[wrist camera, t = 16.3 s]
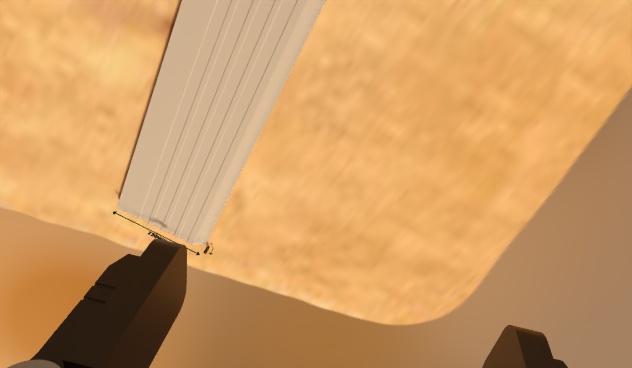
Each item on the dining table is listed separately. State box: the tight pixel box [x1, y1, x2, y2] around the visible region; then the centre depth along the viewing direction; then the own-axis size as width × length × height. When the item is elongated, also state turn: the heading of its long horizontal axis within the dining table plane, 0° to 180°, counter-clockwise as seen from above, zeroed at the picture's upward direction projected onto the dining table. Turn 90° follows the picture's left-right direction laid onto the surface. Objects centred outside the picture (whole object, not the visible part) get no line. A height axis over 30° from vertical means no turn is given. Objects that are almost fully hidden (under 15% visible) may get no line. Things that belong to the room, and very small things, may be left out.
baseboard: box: [113, 0, 326, 255], centre depth 43 cm, size 31×3×12 cm
